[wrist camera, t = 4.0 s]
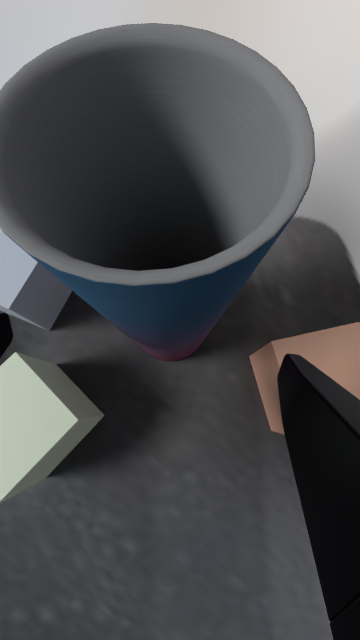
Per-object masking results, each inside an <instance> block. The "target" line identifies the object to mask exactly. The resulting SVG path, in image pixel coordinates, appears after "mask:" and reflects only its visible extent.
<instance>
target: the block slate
mask: <svg viewBox="0 0 360 640" xmlns="http://www.w3.org/2000/svg"><path fill="white" fill-rule="evenodd" d="M71 292H72V290H71V289H70V288H69V287H67V286H66V285H65V284H64V283H62V282H61V281H60V280H59V279H58V278H56V277H55V276H54V275H53V274H52V273H50V272H49V271H48V270H47V269H45V268H44V267H43V266H42V265H41V264H39V263H38V262H37V261H36V260H35V259H33V258H32V257H31V256H30V255H29V254H27V253H26V252H25V251H24V250H23V249H22V248H20V247H19V246H18V245H17V244H16V243H15V242H14V241H12V240H11V239H10V238H9V237H8V236H7V235H6V234H4V232H3V231H2V229H1V228H0V311H3V312H5V313H7V314H10V315H12V316H14V317H17V318H19V319H22V320H24V321H26V322H29V323H31V324H34V325H36V326H38V327H41V328H43V329H46V330H48V331H50V329H51V328H52V326H53V324H54V322H55V320H56V319H57V317H58V315H59V313H60V312H61V310H62V308H63V306H64V304H65V303H66V301H67V299H68V297H69V296H70V294H71Z"/></svg>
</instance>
